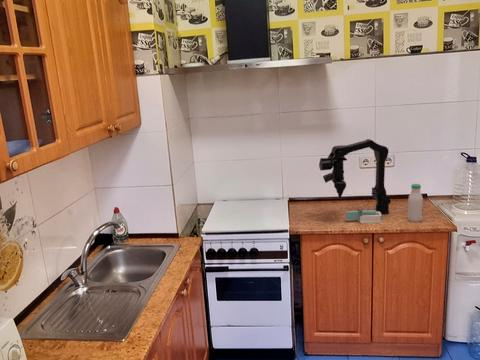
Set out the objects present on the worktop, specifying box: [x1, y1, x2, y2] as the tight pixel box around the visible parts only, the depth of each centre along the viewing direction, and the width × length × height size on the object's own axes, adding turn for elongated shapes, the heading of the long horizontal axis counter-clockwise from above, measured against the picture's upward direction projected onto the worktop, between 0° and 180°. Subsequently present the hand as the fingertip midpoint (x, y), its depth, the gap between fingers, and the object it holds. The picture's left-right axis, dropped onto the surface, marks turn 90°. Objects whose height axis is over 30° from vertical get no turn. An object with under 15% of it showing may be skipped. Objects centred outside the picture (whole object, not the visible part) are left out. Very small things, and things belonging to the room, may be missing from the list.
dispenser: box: [357, 206, 384, 224], centre depth 235 cm, size 12×8×7 cm
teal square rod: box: [345, 209, 376, 221], centre depth 235 cm, size 16×2×4 cm, turn 85°
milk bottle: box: [407, 183, 424, 223], centre depth 230 cm, size 8×8×20 cm
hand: (338, 195), depth 241 cm, fingers open, 9 cm apart
